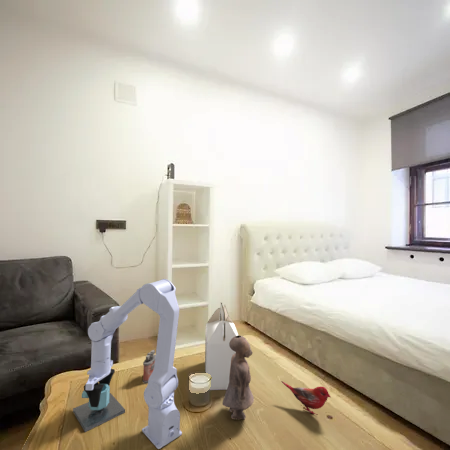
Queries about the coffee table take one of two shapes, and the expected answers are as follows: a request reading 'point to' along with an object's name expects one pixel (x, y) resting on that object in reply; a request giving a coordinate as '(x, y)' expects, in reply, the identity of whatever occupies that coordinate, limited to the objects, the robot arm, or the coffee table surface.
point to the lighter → (148, 366)
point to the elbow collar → (103, 397)
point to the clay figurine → (239, 379)
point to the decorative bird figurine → (310, 396)
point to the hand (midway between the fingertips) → (99, 399)
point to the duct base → (97, 413)
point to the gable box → (219, 348)
